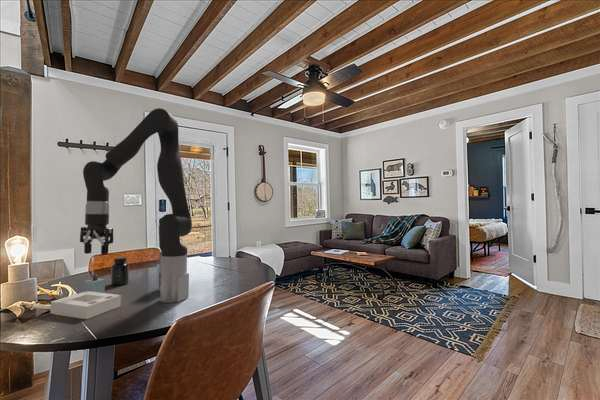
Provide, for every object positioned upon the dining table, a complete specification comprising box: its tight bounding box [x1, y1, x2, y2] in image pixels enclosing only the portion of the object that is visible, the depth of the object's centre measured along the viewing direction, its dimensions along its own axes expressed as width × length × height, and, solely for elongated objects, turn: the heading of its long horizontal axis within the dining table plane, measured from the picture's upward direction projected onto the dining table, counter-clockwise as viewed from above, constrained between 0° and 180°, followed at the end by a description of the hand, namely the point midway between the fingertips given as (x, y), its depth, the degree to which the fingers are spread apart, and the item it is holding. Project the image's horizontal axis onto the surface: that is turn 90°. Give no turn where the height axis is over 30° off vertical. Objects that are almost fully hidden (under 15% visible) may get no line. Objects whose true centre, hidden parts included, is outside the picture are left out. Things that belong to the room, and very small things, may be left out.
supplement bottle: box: [110, 256, 130, 287], centre depth 127 cm, size 7×7×12 cm
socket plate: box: [50, 291, 122, 320], centre depth 95 cm, size 16×12×4 cm
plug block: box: [84, 274, 106, 293], centre depth 107 cm, size 4×4×9 cm
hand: (95, 254), depth 108 cm, fingers open, 8 cm apart
